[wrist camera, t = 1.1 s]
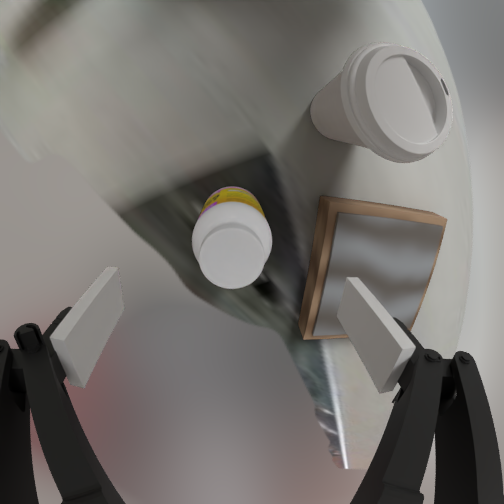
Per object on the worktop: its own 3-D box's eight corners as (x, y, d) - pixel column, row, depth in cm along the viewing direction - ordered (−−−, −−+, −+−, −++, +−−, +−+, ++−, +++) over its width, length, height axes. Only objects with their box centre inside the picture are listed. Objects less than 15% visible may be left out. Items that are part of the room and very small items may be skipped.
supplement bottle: (217, 175, 29) (208, 196, 17) (271, 201, 31) (296, 238, 19) (193, 228, 31) (172, 280, 19) (244, 250, 33) (253, 312, 21)
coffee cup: (375, 152, 29) (462, 167, 15) (301, 155, 29) (361, 167, 15) (367, 78, 26) (449, 50, 12) (291, 75, 25) (341, 24, 11)
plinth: (320, 195, 31) (331, 202, 27) (432, 212, 33) (449, 220, 29) (297, 323, 37) (304, 342, 34) (400, 318, 39) (411, 333, 35)
